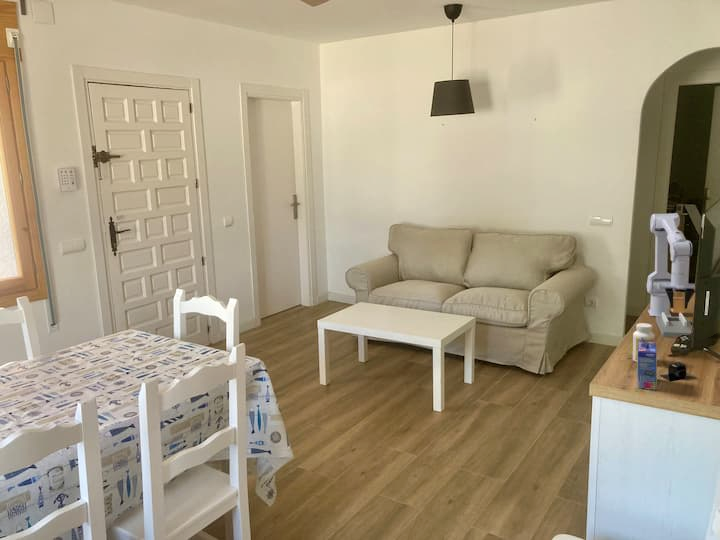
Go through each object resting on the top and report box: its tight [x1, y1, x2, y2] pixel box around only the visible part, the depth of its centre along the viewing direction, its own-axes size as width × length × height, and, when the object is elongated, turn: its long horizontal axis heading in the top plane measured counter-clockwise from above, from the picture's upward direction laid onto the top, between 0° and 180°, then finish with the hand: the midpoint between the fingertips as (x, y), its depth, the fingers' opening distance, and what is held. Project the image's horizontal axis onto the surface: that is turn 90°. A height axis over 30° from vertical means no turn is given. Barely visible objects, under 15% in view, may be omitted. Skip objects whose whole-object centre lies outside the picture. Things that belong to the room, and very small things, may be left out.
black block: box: [659, 361, 696, 382], centre depth 181 cm, size 12×7×5 cm, turn 102°
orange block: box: [670, 297, 686, 314], centre depth 219 cm, size 4×4×5 cm
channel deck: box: [655, 312, 693, 338], centre depth 225 cm, size 22×11×4 cm, turn 160°
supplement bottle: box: [632, 322, 656, 363], centre depth 194 cm, size 7×7×13 cm
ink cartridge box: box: [636, 338, 658, 391], centre depth 176 cm, size 10×6×14 cm, turn 155°
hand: (678, 307), depth 218 cm, fingers closed on orange block, 4 cm apart
